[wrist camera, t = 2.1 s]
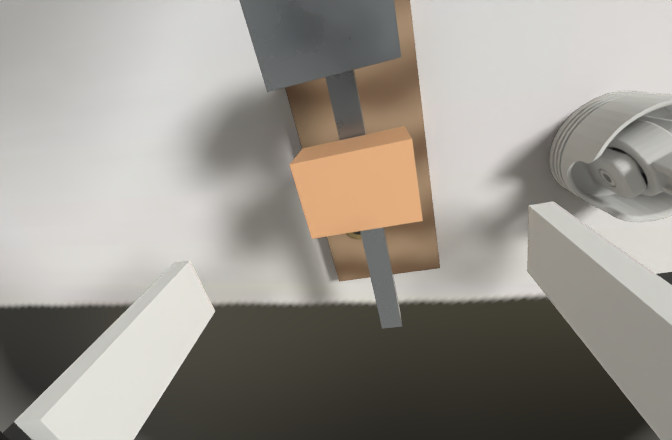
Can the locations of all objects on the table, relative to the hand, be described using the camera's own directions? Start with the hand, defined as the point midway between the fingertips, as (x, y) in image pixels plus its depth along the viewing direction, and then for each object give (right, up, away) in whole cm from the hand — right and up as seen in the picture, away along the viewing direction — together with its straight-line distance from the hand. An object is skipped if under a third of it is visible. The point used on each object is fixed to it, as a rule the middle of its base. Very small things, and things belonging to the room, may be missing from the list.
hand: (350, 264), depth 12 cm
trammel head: (+2, +9, +18) cm, 20 cm away
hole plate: (+2, +9, +20) cm, 22 cm away
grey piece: (+2, +8, +19) cm, 21 cm away
